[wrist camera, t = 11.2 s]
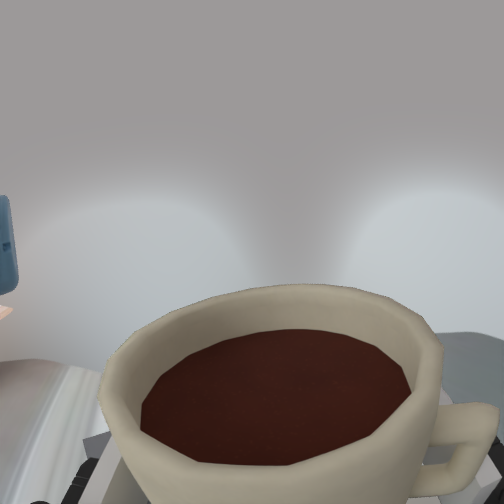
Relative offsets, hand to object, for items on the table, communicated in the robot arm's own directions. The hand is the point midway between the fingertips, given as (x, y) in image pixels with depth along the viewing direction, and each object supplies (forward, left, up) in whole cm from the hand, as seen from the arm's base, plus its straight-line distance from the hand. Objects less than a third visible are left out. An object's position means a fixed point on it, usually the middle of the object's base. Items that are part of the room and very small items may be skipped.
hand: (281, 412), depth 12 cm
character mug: (+3, -2, -7) cm, 9 cm away
